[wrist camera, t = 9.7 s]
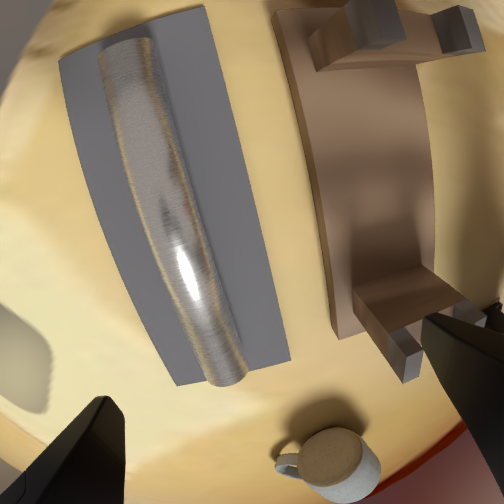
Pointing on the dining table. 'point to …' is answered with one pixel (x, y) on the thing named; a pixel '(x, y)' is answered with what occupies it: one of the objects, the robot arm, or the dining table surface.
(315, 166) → the hook stand
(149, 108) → the steel rod
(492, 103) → the dining table surface
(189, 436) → the dining table surface
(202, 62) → the grey flat tapered piece
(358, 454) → the ceramic mug
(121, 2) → the dining table surface
